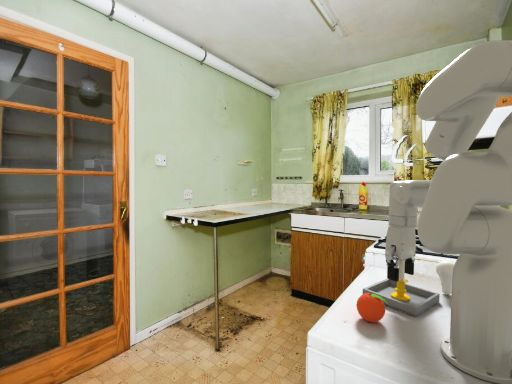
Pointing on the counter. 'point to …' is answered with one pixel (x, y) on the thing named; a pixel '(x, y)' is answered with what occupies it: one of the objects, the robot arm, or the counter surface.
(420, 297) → the tray
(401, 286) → the candle
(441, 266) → the lightbulb
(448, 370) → the counter surface
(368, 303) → the clementine
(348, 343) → the counter surface
